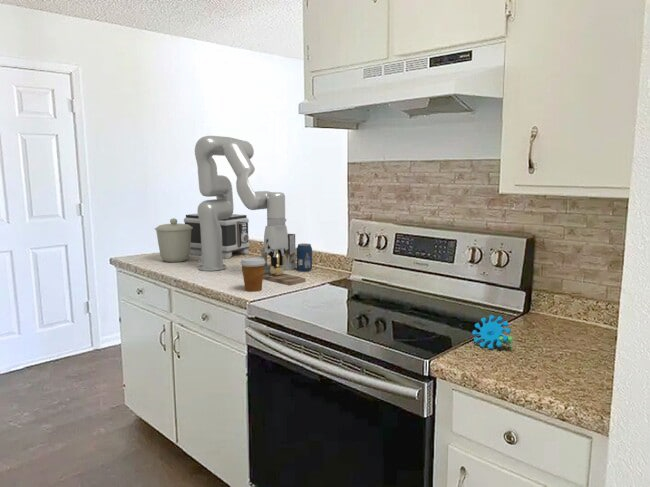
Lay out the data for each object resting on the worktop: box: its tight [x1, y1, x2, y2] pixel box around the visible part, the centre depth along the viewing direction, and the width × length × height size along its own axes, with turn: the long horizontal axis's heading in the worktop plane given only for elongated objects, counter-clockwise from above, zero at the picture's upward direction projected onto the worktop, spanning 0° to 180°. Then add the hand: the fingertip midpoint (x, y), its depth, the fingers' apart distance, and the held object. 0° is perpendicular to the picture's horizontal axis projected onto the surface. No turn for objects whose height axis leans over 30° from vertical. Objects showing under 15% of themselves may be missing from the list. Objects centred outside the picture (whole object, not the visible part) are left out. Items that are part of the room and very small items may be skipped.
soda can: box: [296, 243, 313, 273], centre depth 231 cm, size 7×7×12 cm
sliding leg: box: [269, 253, 284, 276], centre depth 214 cm, size 4×6×9 cm, turn 137°
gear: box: [472, 314, 514, 350], centre depth 137 cm, size 11×6×10 cm
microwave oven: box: [183, 213, 251, 260], centre depth 272 cm, size 18×34×21 cm, turn 60°
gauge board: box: [260, 247, 306, 286], centre depth 214 cm, size 24×9×12 cm, turn 47°
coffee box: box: [272, 233, 297, 271], centre depth 235 cm, size 9×6×16 cm
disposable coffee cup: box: [239, 256, 265, 293], centre depth 196 cm, size 10×10×12 cm
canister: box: [154, 217, 193, 263], centre depth 253 cm, size 18×18×21 cm
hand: (276, 265), depth 215 cm, fingers closed on sliding leg, 2 cm apart
